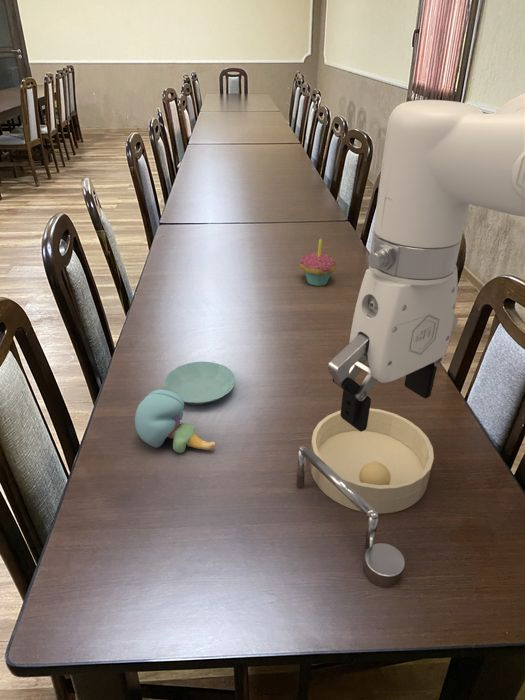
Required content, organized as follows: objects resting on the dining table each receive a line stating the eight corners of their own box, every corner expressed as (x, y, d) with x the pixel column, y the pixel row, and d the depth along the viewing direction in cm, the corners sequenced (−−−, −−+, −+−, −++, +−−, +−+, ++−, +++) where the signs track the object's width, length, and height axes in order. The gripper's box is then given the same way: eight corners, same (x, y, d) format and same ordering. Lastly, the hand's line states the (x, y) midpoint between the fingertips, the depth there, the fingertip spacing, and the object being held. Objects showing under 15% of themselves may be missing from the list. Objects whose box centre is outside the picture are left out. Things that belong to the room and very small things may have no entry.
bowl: (453, 481, 73) (459, 456, 71) (365, 533, 65) (369, 507, 63) (370, 418, 85) (373, 395, 82) (287, 456, 77) (288, 432, 75)
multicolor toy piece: (206, 424, 70) (124, 400, 73) (204, 473, 75) (127, 449, 78) (226, 394, 76) (150, 372, 79) (223, 441, 81) (151, 419, 83)
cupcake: (336, 289, 126) (341, 240, 120) (300, 289, 126) (303, 239, 120) (332, 274, 133) (336, 227, 127) (297, 274, 133) (300, 227, 127)
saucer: (191, 422, 83) (190, 411, 82) (151, 389, 91) (150, 377, 90) (249, 394, 90) (249, 382, 89) (207, 364, 97) (207, 354, 96)
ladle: (410, 575, 61) (421, 531, 57) (382, 594, 58) (391, 551, 55) (310, 477, 73) (314, 437, 70) (284, 490, 71) (286, 449, 68)
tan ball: (394, 491, 71) (399, 469, 69) (372, 504, 69) (376, 481, 67) (373, 473, 73) (377, 451, 71) (351, 485, 72) (354, 462, 69)
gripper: (376, 291, 41) (351, 459, 50) (507, 247, 50) (466, 397, 59) (311, 260, 46) (300, 417, 55) (440, 225, 55) (413, 366, 64)
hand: (386, 407), depth 57 cm, fingers open, 9 cm apart
